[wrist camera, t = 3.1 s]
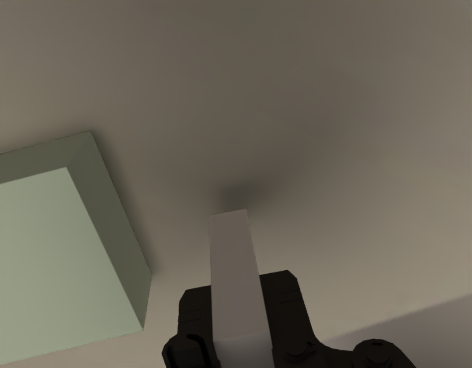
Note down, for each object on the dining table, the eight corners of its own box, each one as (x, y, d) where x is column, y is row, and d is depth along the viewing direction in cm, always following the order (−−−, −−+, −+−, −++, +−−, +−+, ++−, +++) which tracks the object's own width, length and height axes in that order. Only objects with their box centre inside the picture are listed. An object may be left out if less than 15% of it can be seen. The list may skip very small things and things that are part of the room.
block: (91, 128, 19) (66, 167, 15) (152, 272, 23) (143, 330, 19) (-83, 174, 19) (-147, 222, 16) (4, 308, 23) (-32, 372, 20)
